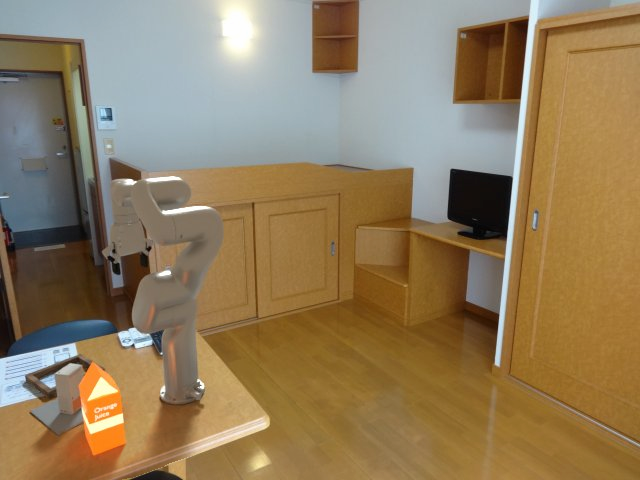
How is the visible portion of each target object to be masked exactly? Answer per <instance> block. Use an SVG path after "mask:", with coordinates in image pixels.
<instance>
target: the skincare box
mask: <svg viewBox="0 0 640 480" xmlns="http://www.w3.org/2000/svg"><path fill="white" fill-rule="evenodd" d="M83 366H84V365H82V364H80V363H76V364H72V363H70V364H68V365H67V366H65V367H63V368H62V369H61V370H59V371H56V372H54V381H55V382H54V383H55V386H56V390H57V395H56V397H57V398H58V406H59V412H60V413H64V414H70V415H73V414H74V413H75V412H76V411H77V410H78V409H80V408H81V407H82V405H81V397H80V390H79V387H78V386H79V384H80V383H81V381H82V379H83V378H84V374H85V373H84V368H83ZM57 398H56V399H57Z"/></svg>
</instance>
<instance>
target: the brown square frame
mask: <svg viewBox="0 0 640 480" xmlns="http://www.w3.org/2000/svg"><path fill="white" fill-rule="evenodd" d="M92 362H94V363H95V364H96V365H97V366H98V367H100V368H101V369H102V370H103V371H105V372H106V368H105V367H103V366H102V365H100V364H98V363H96V362H95V361H93V360H92V359H90V358H88V357H86V356H85V355H83V354H82V353H80V354H79V353H78V354H76V355H74V356H70V357H68V358H66V359H63V360H61V361H59V362H55V363H53V364H50V365H48V366H45V367H43V368H40V369H37V370H35V371H33V372H30V373H27V374H25V375H24V377H25V382H27V383H28V384H29V385H30V386H32V387H33V388H34V389H36V390H37V391H38V392H39V391H40V393H41V394H42V395H44V396H45V397H46V398H47V399H52V398H53V397H57V390H56V385H55V386H53V387H50V386H49V385H47V384H46V383H44V382H43V381H42V380H40V379H41V378H44V377H46V376H49V375H51V374H53V373H54V374H55V373H57V372H58V371H59V370H61V369H62V368H63V367H65V366H67V365H68V364H70V363H72V364H80V365H83V366H84V367H85V368H87V369H89V367H90V365H91V364H92ZM83 374H84V376H85V374H86V373H83Z"/></svg>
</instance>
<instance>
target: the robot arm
mask: <svg viewBox="0 0 640 480" xmlns="http://www.w3.org/2000/svg"><path fill="white" fill-rule="evenodd" d="M109 191H110V192H109V193H110V200H111V202H110V203H111V210H112V211H111V212H112V221H113V223H111V225H110V229H109V244H108V246H107V247H105V248H104V249H102V251H101V254H102V255H103V256H104V258H105V259H106V260H108V261H109V262H110V263H111V270H112V271H111V272H113V274H114V275H116V276H120V275H121V274H122V273H121V263H120V262H119V261H120V259H121V257H124V256H129V255H133V254H138V253H140V254H139V261H140V266H141V267H142V268H145V269H147V268H148V267H149V255H150V252H151V250H152V249H153V248H152V247H153V245H154V243H155V244H156V245H158V246H161V247H169V246H174V245H179V244H185V243H188V244H187V245H186V246H185V247H184V248H183V249H182V250H181V251H180V252H179V254H178V256H177V258H176V259H175V263H174V265H173V266H172V267H170V268H168V269H165V270H164V269H163V270H160V271H156V272H151V273H149V274H147V275H145V276H144V277H143V278H142V279H141V280H140V282H139V284H138V287H137V290H136V293H135V294H136V295H135V298H134V302H133V306H132V311H131V320H132V325H133V327H134V329H136V331H137V332H139V333H140V334H144V335H150V334H154V333H157V332H160V331H163V332H162V335H161V353H162V367H163V378H164V385H163V386H161V388H160V390H159V397H160V399H161V400H162V402H164V403H166V404H170V405H184V404H189V403H191V402H194V401H200V400H201V398H202V396H203V394H205V392H206V389H205V383H204V382H203V381H201V380H200V379H199V368H198V365H199V364H198V350H197V334H196V331H197V330H196V329H197V316H198V309H199V308H198V306H199V305H198V300H197V297H198V295H199V293H200V292H201V290H202V288H203V285H204V283H205V281H206V278H207V276H208V274H209V273H208V272H209V270H210V268H211V266H212V264H213V263H214V261H215V259H216V258H217V256H218V254H219V252H220V250H221V248H222V246H223V243H224V236H225V235H224V234H225V227H224V221H223V218H222V216H221V214H220V212H219V211H218V210H216V209H215V208H213V207H210V206H204V205H203V206H202V205H199V206H198V205H197V206H196V205H195V206H188V207H184V206H187V204H188V203H189V201H190V200H191V198H192V190H191V187H190V184H189V183H188V182H187V181H186V180H184V179H182V178H181V177H178V176H163V177H160V176H159V177H150V178H141V179H138V180H134V179H131V178H116V179H113V180H111V181H110V182H109ZM143 227H144V228H145V230H146V232H147V234H148V236H149V237H150V238H148V237H147V238H146V235H145V231H144V228H143ZM110 253H111V254H112V255H110Z"/></svg>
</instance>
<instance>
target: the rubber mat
mask: <svg viewBox="0 0 640 480" xmlns="http://www.w3.org/2000/svg"><path fill="white" fill-rule="evenodd" d="M29 413H31V415H33V416H34V417H35V418H37V419H38V420H39V421H40V422H41V423H42V424H44V425H45V426H46V427H47V428H49V429H50V430H51V431H52V432H53V433H55V434H56V435H57V436H60V435H61V434H64V433H65V432H67V431H69V430H71V429H73V428H75V427H79V425H82V424H84V420H83V413H82V407H81V408H80V409H78V410H77V411H76V412H75V413H74V414H73V415H70V414H64V413H60V412H59V406H58V398H56V399H54V400H53V399H52V400H51V401H48V402H46V403H44V404H42V405H38V406H37V407H35V408H32V409H31V410H29Z"/></svg>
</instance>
